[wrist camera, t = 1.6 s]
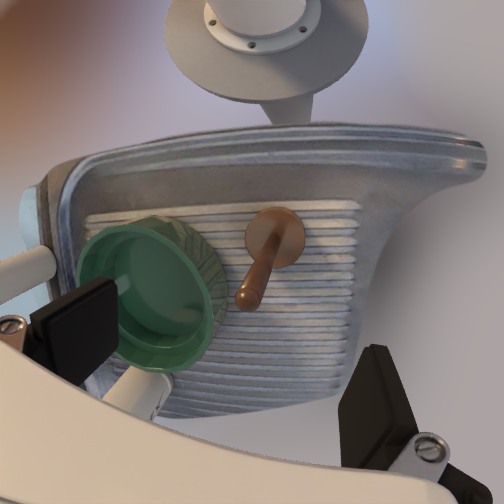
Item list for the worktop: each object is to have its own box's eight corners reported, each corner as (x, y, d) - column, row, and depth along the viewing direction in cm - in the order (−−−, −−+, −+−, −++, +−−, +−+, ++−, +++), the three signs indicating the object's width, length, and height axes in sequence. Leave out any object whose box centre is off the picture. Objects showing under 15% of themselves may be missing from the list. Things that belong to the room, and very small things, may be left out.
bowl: (110, 204, 30) (75, 212, 24) (241, 230, 28) (225, 245, 22) (108, 322, 34) (82, 344, 29) (219, 359, 33) (204, 391, 27)
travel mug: (125, 372, 36) (43, 469, 17) (144, 348, 34) (49, 458, 15) (160, 400, 36) (92, 506, 17) (183, 379, 34) (109, 502, 15)
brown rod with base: (255, 201, 27) (196, 235, 12) (310, 213, 27) (318, 262, 12) (245, 254, 29) (185, 337, 14) (298, 266, 28) (289, 364, 13)
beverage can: (63, 271, 34) (-2, 304, 22) (46, 281, 35) (-13, 313, 24) (49, 239, 33) (-18, 264, 22) (34, 251, 34) (-28, 277, 23)
